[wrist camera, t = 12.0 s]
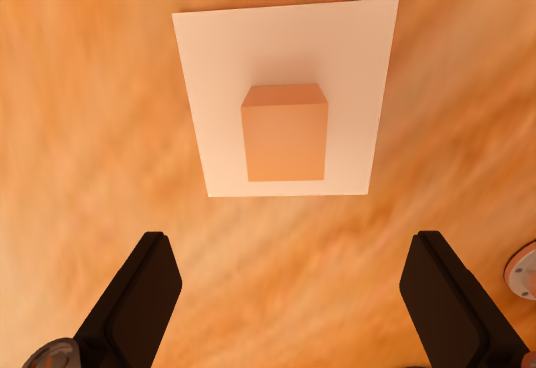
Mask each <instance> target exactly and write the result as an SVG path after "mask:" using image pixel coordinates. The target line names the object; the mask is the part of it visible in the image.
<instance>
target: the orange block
mask: <svg viewBox="0 0 536 368" xmlns="http://www.w3.org/2000/svg"><path fill="white" fill-rule="evenodd" d="M328 105H329V103H328V101H327V99H326V98H325V96H324V94H323V92H322V90H321V89H320V87H319V85H318V83H313V84H291V85H269V86H251V88H250V90H249V92H248V93H247V95H246V97H245V99H244V101H243V103H242V105H241V117H242V126H243V136H244V145H245V155H246V164H247V173H248V182H264V181H314V180H324V170H325V154H326V138H327V121H328Z"/></svg>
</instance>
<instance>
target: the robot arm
mask: <svg viewBox="0 0 536 368" xmlns="http://www.w3.org/2000/svg"><path fill="white" fill-rule="evenodd" d="M504 279H505V282H506V284H507V285H508V287H509V288H510V289H511V290H512V291H513V292H514V293H515V294H516V295H518V296H519V297H522V298H525V299H529V300H536V241H535V242H533V243H531V244H530V245H528V246H527V247H525V248H524V249H522V250H521V251H520V252H519V253H517V254H516V255H515V256H514V257H513V258H512V260H511V261H510V262H509V264H508V265H507V267H506V270H505V275H504ZM399 288H400V292H401V295H402V297H403V300H404V302H405V304H406V307H407V309H408V312H409V314H410V316H411V319H412V321H413V323H414V326H415V328H416V330H417V333H418V335H419V337H420V340H421V342H422V344H423V347H424V349H425V351H426V354H427V356H428V359H429V361H430V363H431V366H432V368H536V351H534V352H530V350H529V349H528V348H527V346H526V345H525V344H524V342H523V341H522V340H521V338H520V337H519V335H518V334H517V333H516V331H515V330H514V329H513V327H512V326H511V325H510V323H509V322H508V321H507V319H506V318H505V317H504V315H503V314H502V313H501V311H500V310H499V309H498V307H497V306H496V305H495V303H494V302H493V301H492V299H491V298H490V297H489V295H488V294H487V293H486V291H485V290H484V289H483V287H482V286H481V285H480V283H479V282H478V281H477V279H476V278H475V276H474V275H473V274H472V273H471V272H470V271H469V270H468V269H467V268H466V267H465V266H464V264H463V263H462V262H461V260H460V259H459V258H458V256H457V255H456V253H455V252H454V251H453V249H452V248H451V247H450V245H449V244H448V243H447V241H446V240H445V239H444V237H443V236H442V235H441V233H440V232H439V231H419V232H418V234H417V235H414V236H413V239H412V242H411V246H410V249H409V252H408V256H407V259H406V263H405V266H404V270H403V273H402V276H401V280H400V284H399ZM181 289H182V279H181V276H180V273H179V270H178V267H177V264H176V261H175V257H174V254H173V251H172V248H171V245H170V242H169V239H168V236H167V235H164V234H163V232H146V233H145V234H144V235H143V236H142V238H141V239H140V241H139V242H138V244H137V245H136V247H135V248H134V250H133V251H132V253H131V254H130V256H129V257H128V259H127V260H126V261H125V263H124V264H123V266H122V267H121V269H120V270H119V271H118V272H117V274H116V275H115V277H114V278H113V280H112V281H111V283H110V284H109V285H108V287H107V288H106V290H105V291H104V293H103V294H102V296H101V297H100V299H99V300H98V302H97V303H96V305H95V306H94V308H93V309H92V310H91V312H90V313H89V315H88V316H87V318H86V319H85V321H84V322H83V324H82V325H81V327H80V328H79V330H78V331H77V333H76V334H75V336H74V337H73V338H66V337H65V338H60V339H56V340H54V341H51V342H49V343H47V344H46V345H44V346H42V347H41V348H39V349H38V350H37V351H36V352H35V353H34V354H32V355H31V356H30V358H29V359H28V360H27V361H26V362H25V363H24V365H23V367H22V368H151V366H152V363H153V361H154V358H155V355H156V353H157V350H158V348H159V345H160V343H161V340H162V338H163V335H164V333H165V330H166V328H167V325H168V322H169V320H170V317H171V315H172V312H173V310H174V307H175V305H176V302H177V300H178V297H179V295H180V292H181Z"/></svg>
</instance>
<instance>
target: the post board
mask: <svg viewBox="0 0 536 368" xmlns="http://www.w3.org/2000/svg"><path fill="white" fill-rule="evenodd" d="M398 3H399V0H361V1H347V2H332V3H317V4H303V5H288V6H273V7H259V8H244V9H229V10H215V11H200V12H185V13H171V14H172V19H173V24H174V29H175V34H176V39H177V44H178V49H179V53H180V58H181V63H182V68H183V73H184V78H185V83H186V88H187V93H188V98H189V103H190V108H191V113H192V118H193V123H194V128H195V133H196V138H197V143H198V148H199V153H200V157H201V162H202V167H203V172H204V177H205V182H206V187H207V192H208V197H243V196H304V195H365V194H368V188H369V182H370V176H371V170H372V163H373V157H374V151H375V145H376V139H377V133H378V126H379V120H380V114H381V108H382V102H383V95H384V89H385V83H386V77H387V71H388V65H389V58H390V52H391V46H392V40H393V34H394V27H395V21H396V15H397V9H398ZM313 83H318V85H319V87H320V89H321V90H322V92H323V94H324V96H325V98H326V99H327V101H328V103H329V105H328V121H327V138H326V154H325V170H324V180H314V181H264V182H248V173H247V164H246V155H245V145H244V136H243V126H242V117H241V105H242V103H243V101H244V99H245V97H246V95H247V93H248V92H249V90H250V88H251V86H269V85H291V84H313Z"/></svg>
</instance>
